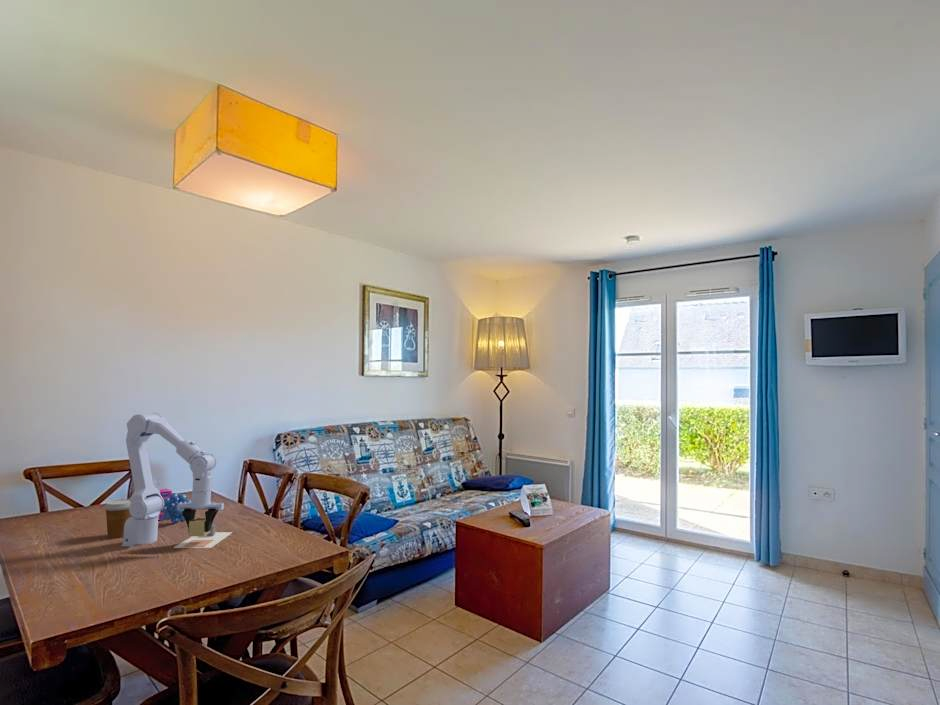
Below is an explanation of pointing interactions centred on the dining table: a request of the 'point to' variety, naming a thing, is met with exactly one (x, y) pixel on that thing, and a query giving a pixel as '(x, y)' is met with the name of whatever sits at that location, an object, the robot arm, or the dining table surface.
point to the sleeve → (197, 527)
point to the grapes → (174, 507)
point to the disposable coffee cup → (117, 516)
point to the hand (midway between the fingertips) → (199, 531)
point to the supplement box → (164, 494)
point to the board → (204, 539)
